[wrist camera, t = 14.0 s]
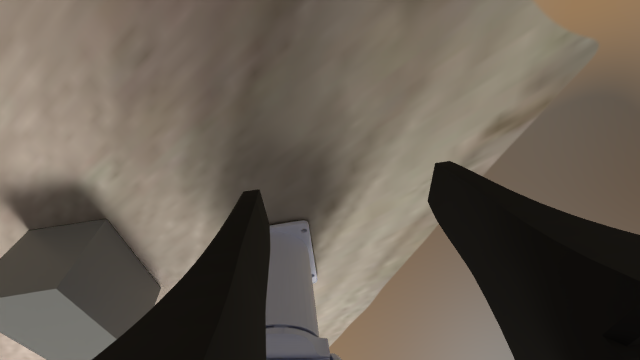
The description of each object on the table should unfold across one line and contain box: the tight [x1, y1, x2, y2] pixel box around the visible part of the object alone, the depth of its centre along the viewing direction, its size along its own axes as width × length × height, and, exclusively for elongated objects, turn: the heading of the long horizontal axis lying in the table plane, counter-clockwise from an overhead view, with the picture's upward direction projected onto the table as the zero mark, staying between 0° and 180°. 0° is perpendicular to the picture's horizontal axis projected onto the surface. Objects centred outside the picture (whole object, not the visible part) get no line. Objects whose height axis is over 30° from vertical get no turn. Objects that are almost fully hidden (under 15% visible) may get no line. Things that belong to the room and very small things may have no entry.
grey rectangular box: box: [0, 219, 161, 360], centre depth 22 cm, size 10×6×6 cm, turn 5°
